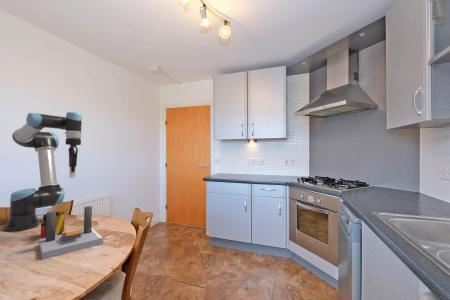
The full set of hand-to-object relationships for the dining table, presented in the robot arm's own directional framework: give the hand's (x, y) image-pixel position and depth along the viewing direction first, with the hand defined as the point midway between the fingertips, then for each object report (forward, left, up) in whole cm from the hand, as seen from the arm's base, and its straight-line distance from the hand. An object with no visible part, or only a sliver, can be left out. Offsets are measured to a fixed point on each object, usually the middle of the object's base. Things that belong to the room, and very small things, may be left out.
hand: (72, 177), depth 126 cm
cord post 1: (+17, -11, -29) cm, 35 cm away
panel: (+21, -3, -32) cm, 39 cm away
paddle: (+21, -3, -26) cm, 34 cm away
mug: (+1, -8, -33) cm, 34 cm away
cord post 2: (+17, +5, -29) cm, 34 cm away
